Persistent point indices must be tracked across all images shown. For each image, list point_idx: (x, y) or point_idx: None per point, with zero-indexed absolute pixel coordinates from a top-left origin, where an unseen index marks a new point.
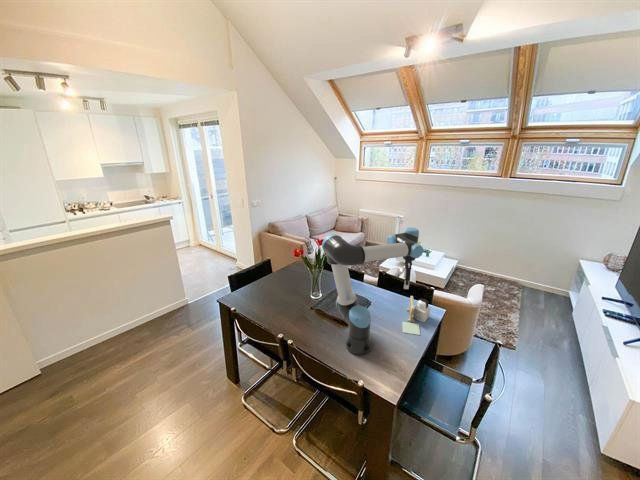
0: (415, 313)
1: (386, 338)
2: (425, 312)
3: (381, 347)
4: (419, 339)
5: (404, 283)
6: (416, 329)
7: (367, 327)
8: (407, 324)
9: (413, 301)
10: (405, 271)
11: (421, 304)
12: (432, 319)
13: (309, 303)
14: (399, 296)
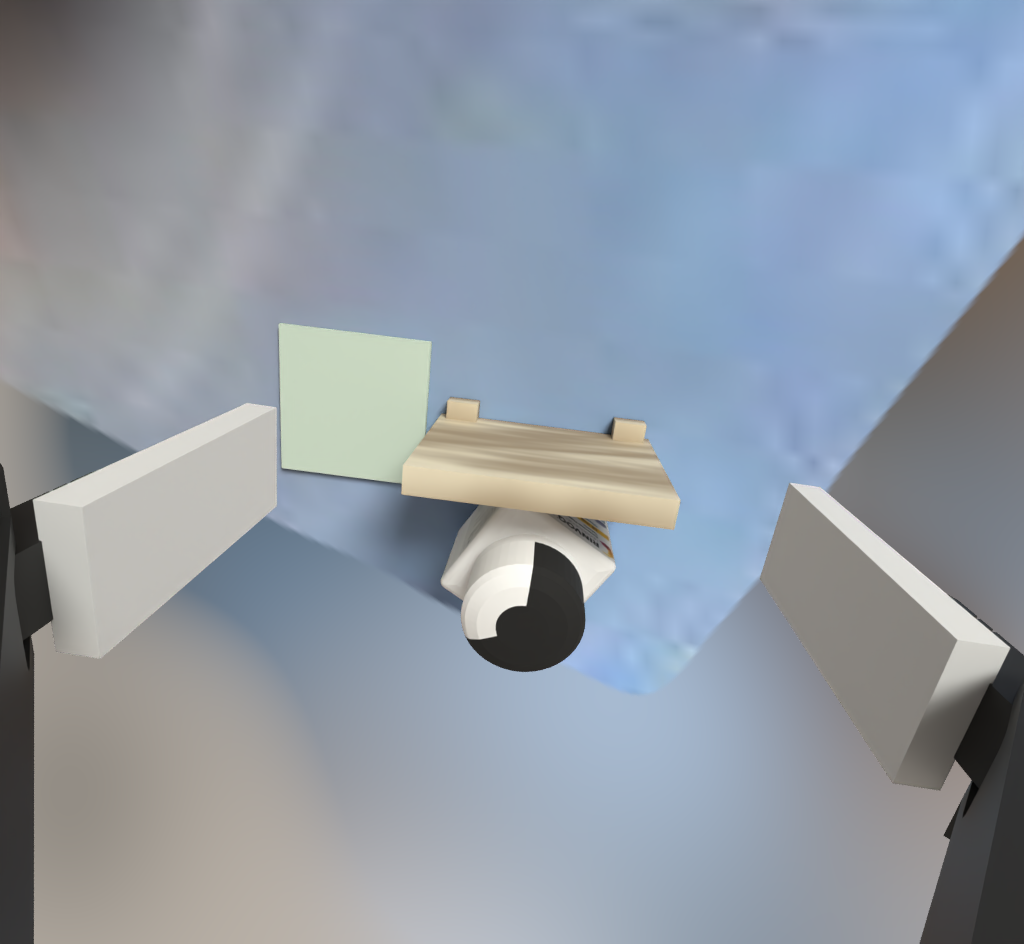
0: None
1: (157, 148)
2: (444, 587)
3: (22, 85)
4: None
5: (160, 445)
6: (344, 452)
7: None
8: (397, 385)
9: (549, 511)
10: (883, 616)
11: (468, 588)
12: None
13: None
14: (898, 377)
